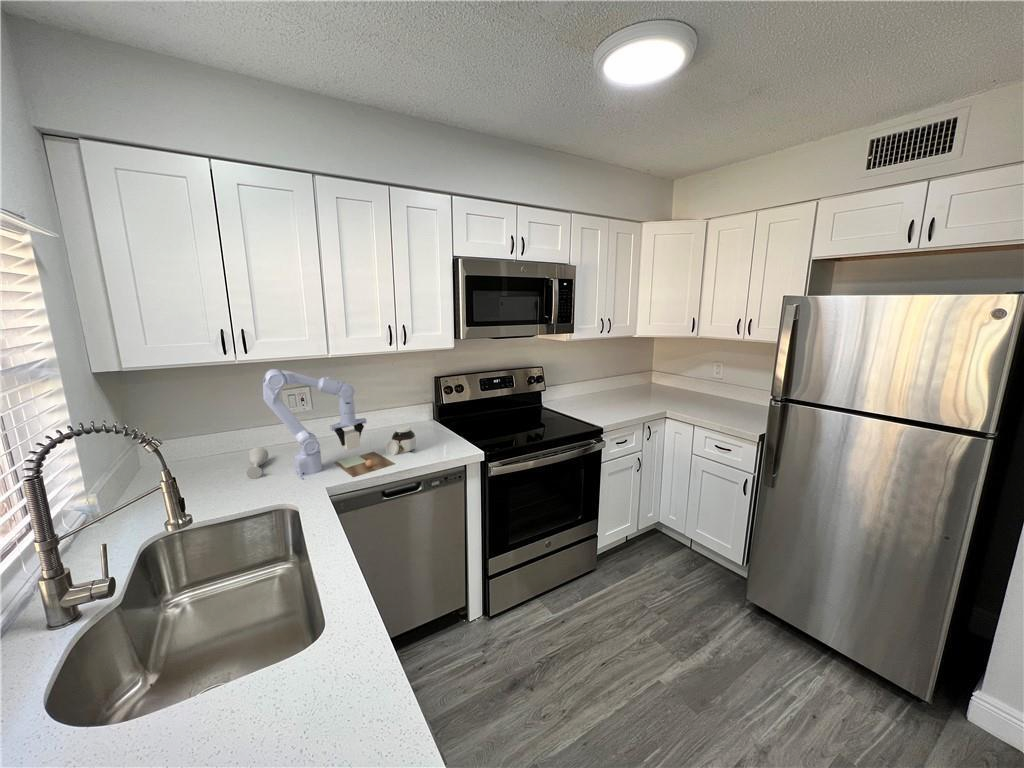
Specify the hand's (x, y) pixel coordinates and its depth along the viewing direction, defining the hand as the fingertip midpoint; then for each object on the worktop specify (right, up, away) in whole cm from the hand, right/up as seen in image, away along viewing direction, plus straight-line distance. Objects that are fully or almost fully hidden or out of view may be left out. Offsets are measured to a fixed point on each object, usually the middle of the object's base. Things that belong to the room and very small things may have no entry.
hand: (350, 443), depth 173 cm
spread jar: (+17, -7, +14) cm, 23 cm away
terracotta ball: (+9, -8, -4) cm, 13 cm away
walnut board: (+6, -9, 0) cm, 11 cm away
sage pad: (0, -8, +2) cm, 8 cm away
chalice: (-33, -10, -11) cm, 36 cm away
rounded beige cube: (0, -2, 0) cm, 2 cm away
